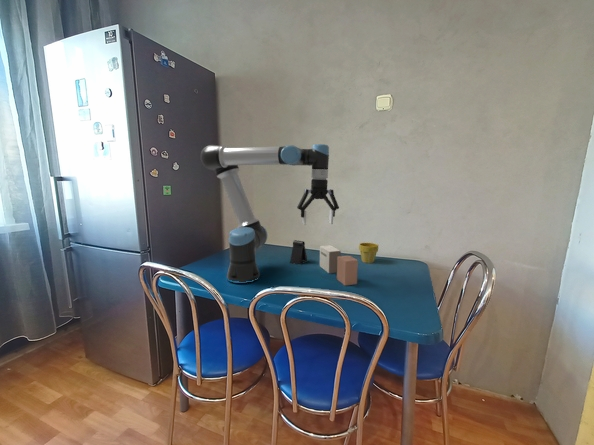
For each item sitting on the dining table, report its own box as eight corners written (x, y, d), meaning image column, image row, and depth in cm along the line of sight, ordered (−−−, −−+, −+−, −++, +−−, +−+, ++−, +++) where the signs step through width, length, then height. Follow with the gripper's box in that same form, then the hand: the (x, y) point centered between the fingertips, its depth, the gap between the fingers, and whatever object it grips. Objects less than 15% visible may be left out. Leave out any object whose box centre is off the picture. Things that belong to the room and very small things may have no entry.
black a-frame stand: (298, 264, 153) (298, 243, 151) (289, 262, 156) (289, 241, 154) (307, 260, 161) (307, 240, 159) (298, 259, 164) (298, 238, 162)
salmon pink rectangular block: (344, 285, 124) (345, 261, 122) (336, 279, 132) (337, 256, 130) (357, 283, 126) (357, 260, 124) (348, 277, 134) (348, 255, 132)
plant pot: (375, 259, 163) (376, 242, 162) (379, 264, 153) (380, 247, 152) (357, 258, 164) (358, 242, 163) (359, 264, 154) (360, 246, 153)
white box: (329, 273, 139) (329, 251, 138) (319, 266, 151) (319, 246, 149) (340, 272, 141) (340, 250, 140) (330, 265, 153) (330, 245, 151)
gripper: (296, 178, 124) (294, 226, 127) (347, 179, 131) (344, 224, 135) (291, 178, 131) (290, 223, 135) (340, 179, 138) (338, 222, 142)
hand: (317, 224), depth 135 cm, fingers open, 13 cm apart
